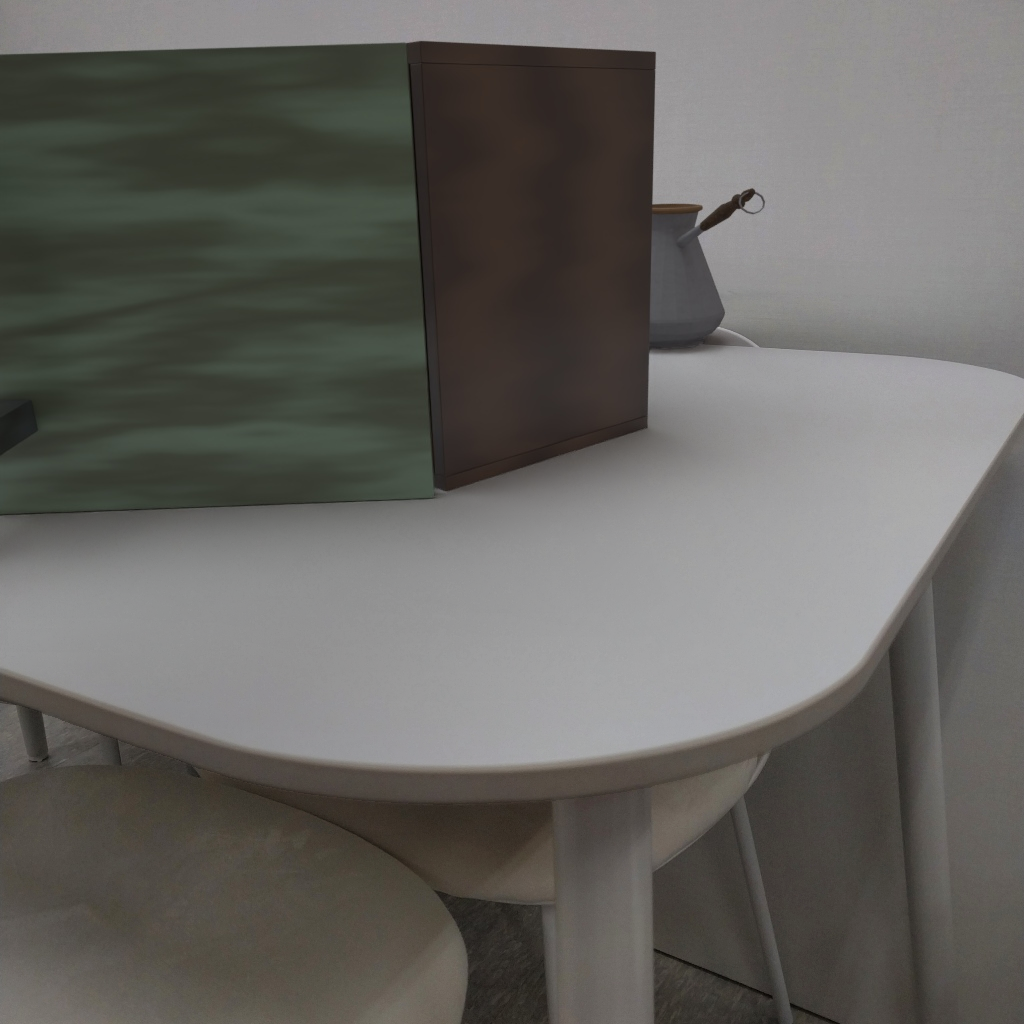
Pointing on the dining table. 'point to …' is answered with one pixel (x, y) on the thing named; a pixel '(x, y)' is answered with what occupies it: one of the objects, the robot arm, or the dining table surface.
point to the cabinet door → (210, 279)
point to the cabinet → (532, 248)
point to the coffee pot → (685, 274)
